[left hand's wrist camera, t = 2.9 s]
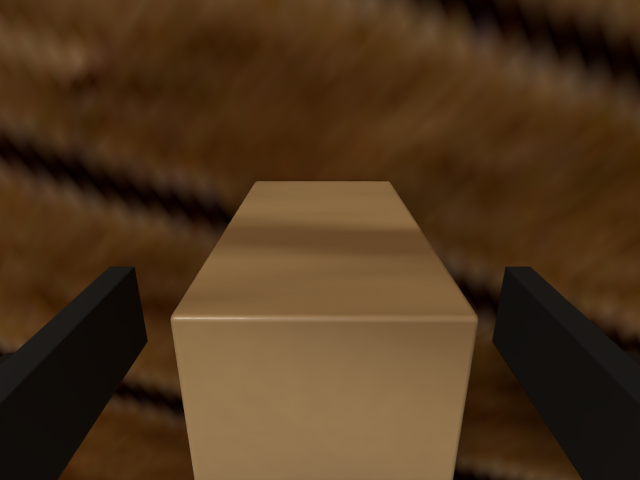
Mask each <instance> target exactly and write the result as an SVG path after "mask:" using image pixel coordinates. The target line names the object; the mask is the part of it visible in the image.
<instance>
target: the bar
mask: <svg viewBox="0 0 640 480" xmlns="http://www.w3.org/2000/svg"><path fill="white" fill-rule="evenodd" d="M477 325H478V317H477V315H476V313H475V312H474V310H473V309H472V307H471V306H470V304H469V303H468V301H467V300H466V298H465V297H464V295H463V293H462V292H461V290H460V289H459V287H458V286H457V284H456V283H455V281H454V280H453V278H452V277H451V275H450V274H449V272H448V271H447V269H446V267H445V266H444V264H443V263H442V261H441V260H440V258H439V257H438V255H437V254H436V252H435V251H434V249H433V248H432V246H431V244H430V243H429V241H428V240H427V238H426V237H425V235H424V234H423V232H422V231H421V229H420V228H419V226H418V225H417V223H416V221H415V220H414V218H413V217H412V215H411V214H410V212H409V211H408V209H407V208H406V206H405V205H404V203H403V202H402V200H401V199H400V197H399V195H398V194H397V192H396V191H395V189H394V188H393V186H392V185H391V183H390V182H388V181H257V182H255V184H254V185H253V187H252V188H251V190H250V192H249V193H248V195H247V196H246V198H245V199H244V201H243V203H242V204H241V206H240V207H239V209H238V211H237V212H236V214H235V215H234V217H233V219H232V220H231V222H230V223H229V225H228V227H227V228H226V230H225V231H224V233H223V235H222V236H221V238H220V239H219V241H218V243H217V244H216V246H215V247H214V249H213V251H212V252H211V254H210V255H209V257H208V258H207V260H206V262H205V263H204V265H203V266H202V268H201V270H200V271H199V273H198V274H197V276H196V278H195V279H194V281H193V282H192V284H191V286H190V287H189V289H188V290H187V292H186V294H185V295H184V297H183V298H182V300H181V302H180V303H179V305H178V306H177V308H176V310H175V311H174V313H173V314H172V316H171V326H172V332H173V339H174V345H175V352H176V359H177V365H178V372H179V379H180V385H181V392H182V398H183V405H184V412H185V418H186V425H187V432H188V438H189V445H190V451H191V458H192V465H193V471H194V478H195V480H453V476H454V469H455V463H456V457H457V451H458V444H459V438H460V432H461V425H462V419H463V413H464V407H465V400H466V394H467V388H468V382H469V375H470V369H471V363H472V357H473V350H474V344H475V338H476V332H477Z"/></svg>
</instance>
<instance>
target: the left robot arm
mask: <svg viewBox="0 0 640 480" xmlns="http://www.w3.org/2000/svg"><path fill="white" fill-rule="evenodd" d="M147 342H148V340H147V334H146V329H145V323H144V318H143V312H142V306H141V301H140V295H139V290H138V284H137V278H136V273H135V267H109V268H108V269H107V270H106V271H105V272H104V273H102V274H101V275H100V276H99V277H98V278H97V279H96V280H95V281H94V282H93V283H91V284H90V285H89V286H88V287H87V288H86V289H85V290H84V291H83V292H81V293H80V294H79V295H78V296H77V297H76V298H75V299H74V300H73V301H72V302H70V303H69V304H68V305H67V306H66V307H65V308H64V309H63V310H62V311H60V312H59V313H58V314H57V315H56V316H55V317H54V318H53V319H52V320H51V321H49V322H48V323H47V324H46V325H45V326H44V327H43V328H42V329H41V330H39V331H38V332H37V333H36V334H35V335H34V336H33V337H32V338H31V339H29V340H28V341H27V342H26V343H25V344H24V345H23V346H22V347H21V348H20V349H18V350H17V351H16V352H15V353H7V354H5V355H3V356H2V357H0V480H58V478H59V477H60V475H61V474H62V472H63V470H64V469H65V467H66V466H67V464H68V463H69V461H70V460H71V458H72V457H73V455H74V454H75V452H76V450H77V449H78V447H79V446H80V444H81V443H82V441H83V440H84V438H85V437H86V435H87V434H88V432H89V431H90V429H91V427H92V426H93V424H94V423H95V421H96V420H97V418H98V417H99V415H100V414H101V412H102V411H103V409H104V408H105V406H106V404H107V403H108V401H109V400H110V398H111V397H112V395H113V394H114V392H115V391H116V389H117V388H118V386H119V385H120V383H121V381H122V380H123V378H124V377H125V375H126V374H127V372H128V371H129V369H130V368H131V366H132V365H133V363H134V361H135V360H136V358H137V357H138V355H139V354H140V352H141V351H142V349H143V348H144V346H145V345H146V343H147ZM492 342H493V343H494V345H495V346H496V348H497V349H498V351H499V352H500V354H501V355H502V357H503V358H504V360H505V361H506V363H507V365H508V366H509V368H510V369H511V371H512V372H513V374H514V375H515V377H516V378H517V380H518V381H519V383H520V385H521V386H522V388H523V389H524V391H525V392H526V394H527V395H528V397H529V398H530V400H531V401H532V403H533V404H534V406H535V408H536V409H537V411H538V412H539V414H540V415H541V417H542V418H543V420H544V421H545V423H546V424H547V426H548V427H549V429H550V431H551V432H552V434H553V435H554V437H555V438H556V440H557V441H558V443H559V444H560V446H561V447H562V449H563V450H564V452H565V454H566V455H567V457H568V458H569V460H570V461H571V463H572V464H573V466H574V467H575V469H576V470H577V472H578V474H579V475H580V477H581V478H582V480H640V355H638V354H636V353H634V352H624V351H623V350H622V349H620V348H619V347H618V346H617V345H616V344H615V343H614V342H613V341H612V340H611V339H609V338H608V337H607V336H606V335H605V334H604V333H603V332H602V331H601V330H599V329H598V328H597V327H596V326H595V325H594V324H593V323H592V322H591V321H590V320H588V319H587V318H586V317H585V316H584V315H583V314H582V313H581V312H580V311H578V310H577V309H576V308H575V307H574V306H573V305H572V304H571V303H570V302H568V301H567V300H566V299H565V298H564V297H563V296H562V295H561V294H560V293H559V292H557V291H556V290H555V289H554V288H553V287H552V286H551V285H550V284H549V283H547V282H546V281H545V280H544V279H543V278H542V277H541V276H540V275H539V274H538V273H536V272H535V271H534V270H533V269H532V268H531V267H505V273H504V278H503V284H502V290H501V295H500V301H499V306H498V312H497V318H496V323H495V329H494V335H493V340H492Z"/></svg>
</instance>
